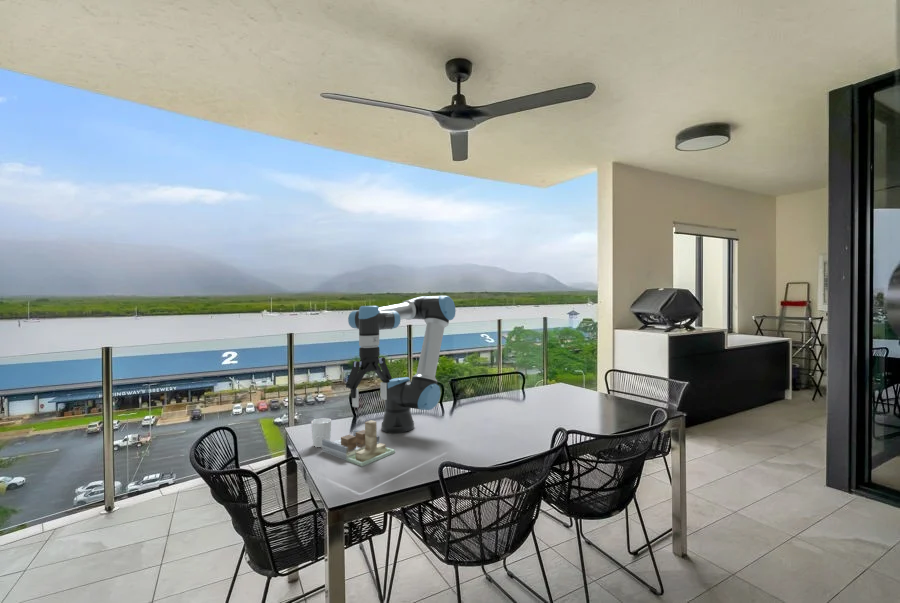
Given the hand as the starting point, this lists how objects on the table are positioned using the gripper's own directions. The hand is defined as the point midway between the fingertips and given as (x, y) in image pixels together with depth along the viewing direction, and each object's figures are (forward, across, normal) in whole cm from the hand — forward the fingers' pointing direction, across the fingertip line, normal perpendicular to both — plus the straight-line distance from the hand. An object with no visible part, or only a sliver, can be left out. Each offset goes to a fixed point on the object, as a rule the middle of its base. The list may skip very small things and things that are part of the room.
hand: (370, 403), depth 148 cm
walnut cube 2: (+18, +4, +9) cm, 20 cm away
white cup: (+21, -3, +27) cm, 35 cm away
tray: (+21, 0, 0) cm, 21 cm away
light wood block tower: (+20, 0, 0) cm, 20 cm away
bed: (+21, 0, +12) cm, 24 cm away
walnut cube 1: (+18, -3, +9) cm, 20 cm away
